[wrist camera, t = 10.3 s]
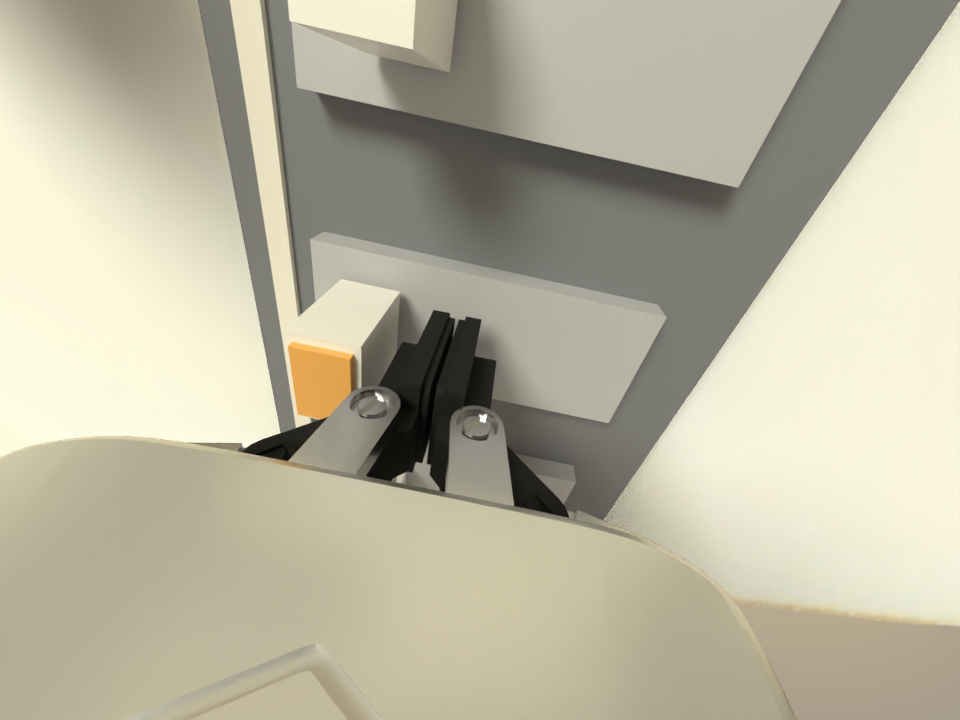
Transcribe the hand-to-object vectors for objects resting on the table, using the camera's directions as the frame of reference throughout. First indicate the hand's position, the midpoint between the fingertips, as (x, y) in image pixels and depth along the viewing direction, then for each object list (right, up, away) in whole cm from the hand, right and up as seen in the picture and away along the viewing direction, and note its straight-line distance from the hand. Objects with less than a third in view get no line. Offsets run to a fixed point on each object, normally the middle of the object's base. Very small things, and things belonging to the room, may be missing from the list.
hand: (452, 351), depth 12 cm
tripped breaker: (-3, +1, 0) cm, 3 cm away
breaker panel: (+1, +2, +3) cm, 4 cm away
